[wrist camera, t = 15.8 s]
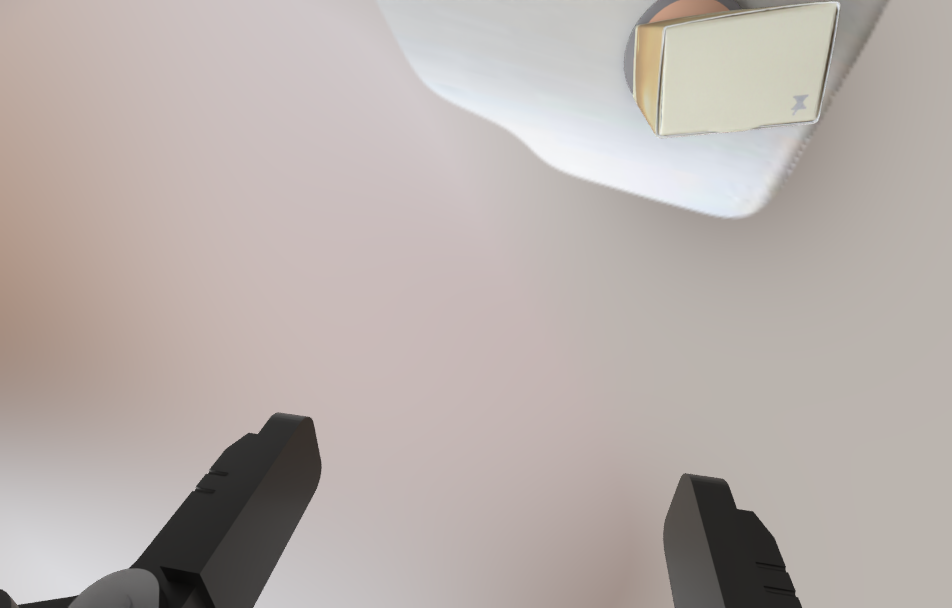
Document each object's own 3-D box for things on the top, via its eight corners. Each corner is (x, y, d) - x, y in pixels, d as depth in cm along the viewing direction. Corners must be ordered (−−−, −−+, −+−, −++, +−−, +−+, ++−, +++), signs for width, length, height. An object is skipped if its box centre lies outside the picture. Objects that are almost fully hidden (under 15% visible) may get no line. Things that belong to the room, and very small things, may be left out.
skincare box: (747, 7, 27) (856, -6, 17) (737, 90, 29) (829, 124, 19) (628, 24, 29) (660, 22, 18) (627, 102, 31) (655, 141, 20)
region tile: (615, 113, 32) (616, 115, 31) (635, -14, 28) (637, -15, 28) (727, 118, 31) (730, 120, 30) (762, -12, 27) (767, -13, 27)
